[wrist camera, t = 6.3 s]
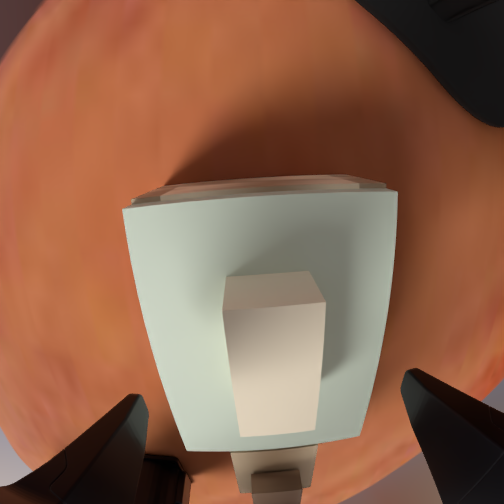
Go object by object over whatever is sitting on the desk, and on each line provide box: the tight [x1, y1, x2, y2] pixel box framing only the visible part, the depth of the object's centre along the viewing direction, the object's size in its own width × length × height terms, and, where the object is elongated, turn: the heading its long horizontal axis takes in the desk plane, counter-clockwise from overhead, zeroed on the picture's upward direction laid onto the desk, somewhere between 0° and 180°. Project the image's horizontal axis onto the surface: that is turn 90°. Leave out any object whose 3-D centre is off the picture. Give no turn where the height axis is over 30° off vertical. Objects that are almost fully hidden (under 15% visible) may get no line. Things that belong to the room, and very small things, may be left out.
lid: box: [122, 188, 398, 451], centre depth 11 cm, size 10×14×4 cm
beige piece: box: [131, 174, 386, 493], centre depth 16 cm, size 10×20×6 cm, turn 4°
